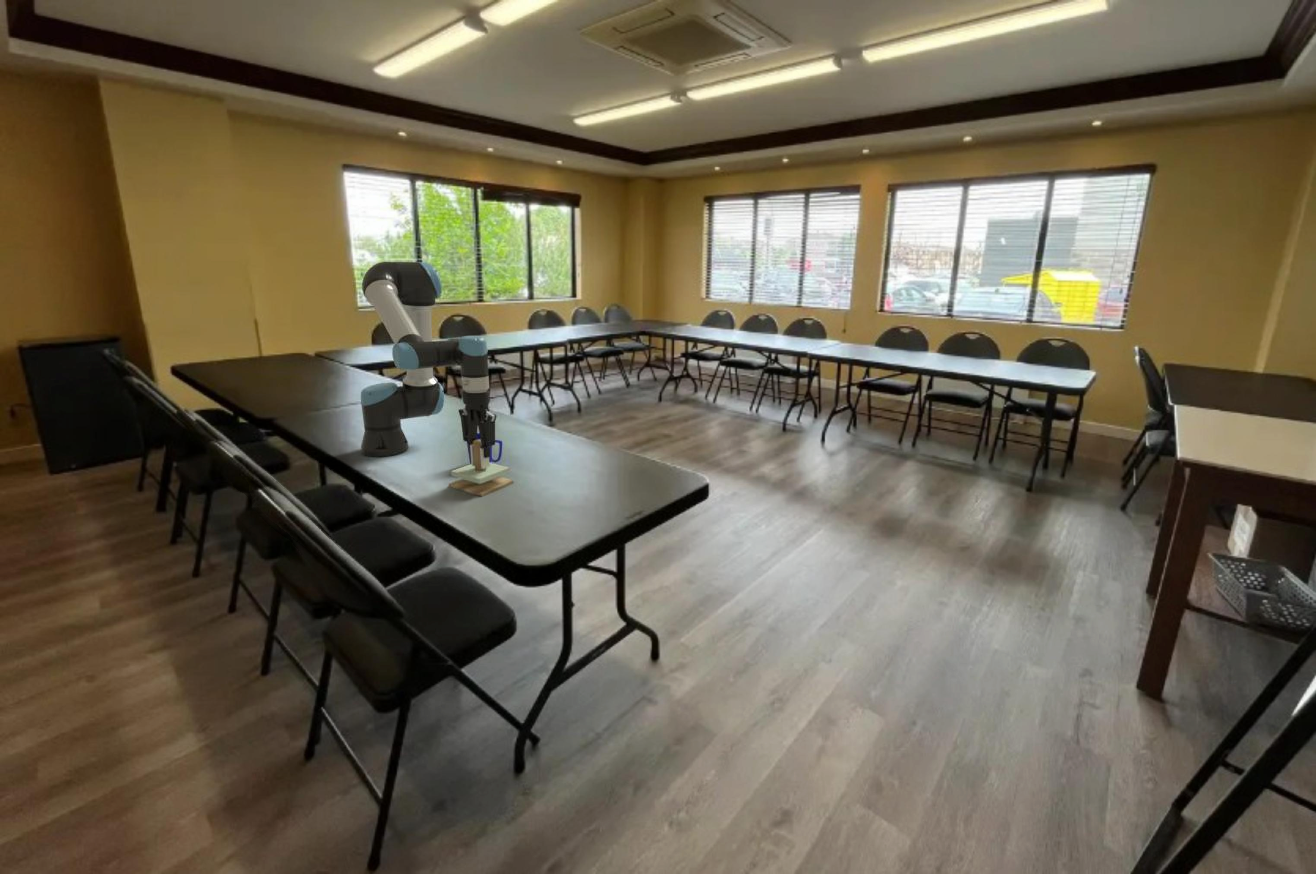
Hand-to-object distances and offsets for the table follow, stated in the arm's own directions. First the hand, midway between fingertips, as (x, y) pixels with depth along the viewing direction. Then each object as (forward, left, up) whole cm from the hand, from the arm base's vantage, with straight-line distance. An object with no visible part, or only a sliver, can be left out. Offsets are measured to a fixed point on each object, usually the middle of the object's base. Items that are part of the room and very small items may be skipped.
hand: (480, 465), depth 174 cm
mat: (0, 0, -6) cm, 6 cm away
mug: (-12, +13, -6) cm, 19 cm away
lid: (0, 0, -3) cm, 3 cm away
